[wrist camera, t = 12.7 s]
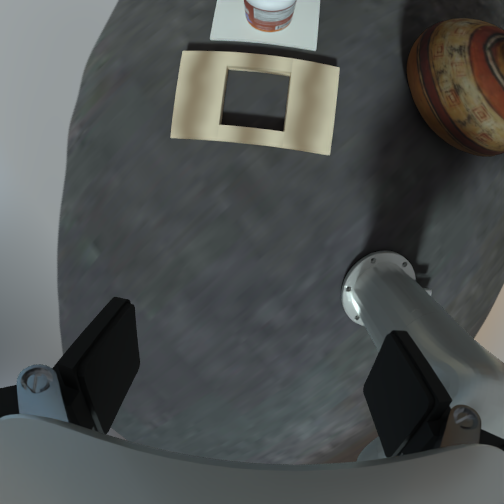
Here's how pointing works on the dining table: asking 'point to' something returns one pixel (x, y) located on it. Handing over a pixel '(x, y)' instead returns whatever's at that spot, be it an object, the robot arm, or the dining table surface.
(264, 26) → the pill bottle
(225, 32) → the mat
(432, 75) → the ceramic pitcher
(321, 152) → the wooden rectangular frame
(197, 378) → the dining table surface
